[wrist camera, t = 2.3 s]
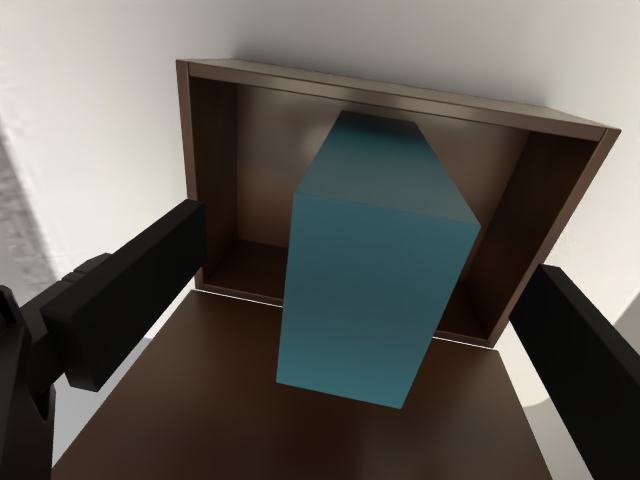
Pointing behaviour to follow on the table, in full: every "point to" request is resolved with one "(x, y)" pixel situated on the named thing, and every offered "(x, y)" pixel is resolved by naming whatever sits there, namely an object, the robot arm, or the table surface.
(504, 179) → the chest
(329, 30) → the table surface
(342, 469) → the lid
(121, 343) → the robot arm
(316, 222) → the block
